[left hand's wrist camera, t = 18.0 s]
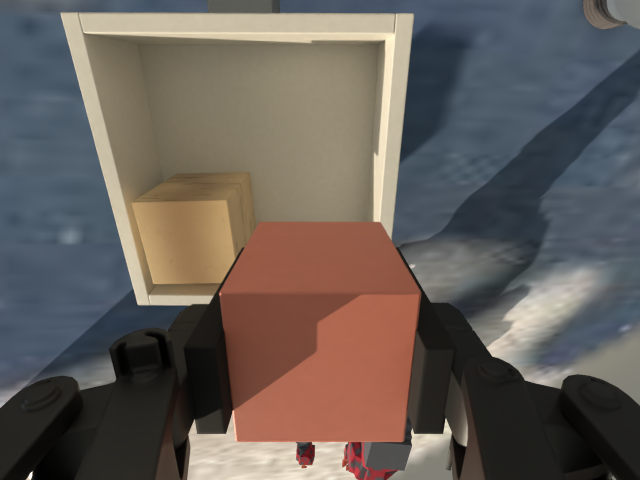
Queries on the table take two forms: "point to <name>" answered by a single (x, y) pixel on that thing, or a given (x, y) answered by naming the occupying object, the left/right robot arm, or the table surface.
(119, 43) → the box
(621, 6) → the light bulb
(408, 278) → the coral block
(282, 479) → the table surface
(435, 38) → the table surface
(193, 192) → the beech block
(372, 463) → the toy
